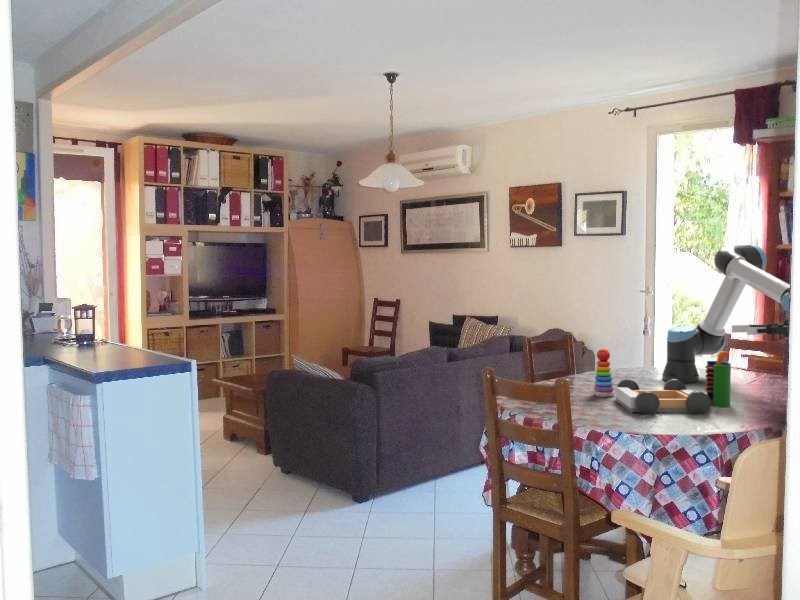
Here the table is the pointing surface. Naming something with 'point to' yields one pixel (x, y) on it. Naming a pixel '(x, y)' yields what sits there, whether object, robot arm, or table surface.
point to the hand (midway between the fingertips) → (739, 330)
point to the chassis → (662, 398)
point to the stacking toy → (603, 375)
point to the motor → (718, 381)
